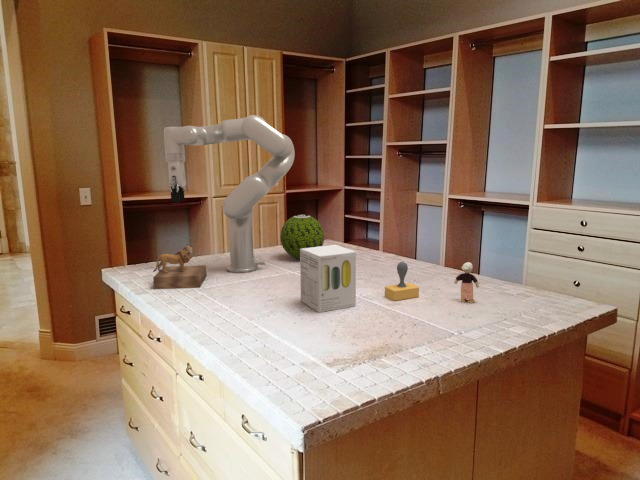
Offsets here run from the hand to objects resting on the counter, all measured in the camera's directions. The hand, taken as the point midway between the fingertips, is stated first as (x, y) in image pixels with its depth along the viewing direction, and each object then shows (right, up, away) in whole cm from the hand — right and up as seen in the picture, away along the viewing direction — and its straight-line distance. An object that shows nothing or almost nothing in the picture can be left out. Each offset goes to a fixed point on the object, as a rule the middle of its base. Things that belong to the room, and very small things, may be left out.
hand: (178, 201), depth 190 cm
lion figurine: (+4, -27, -16) cm, 32 cm away
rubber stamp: (+85, -35, -35) cm, 98 cm away
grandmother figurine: (+104, -35, -40) cm, 117 cm away
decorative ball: (+50, -24, +23) cm, 60 cm away
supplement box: (+60, -36, -42) cm, 82 cm away
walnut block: (+6, -32, -15) cm, 36 cm away
